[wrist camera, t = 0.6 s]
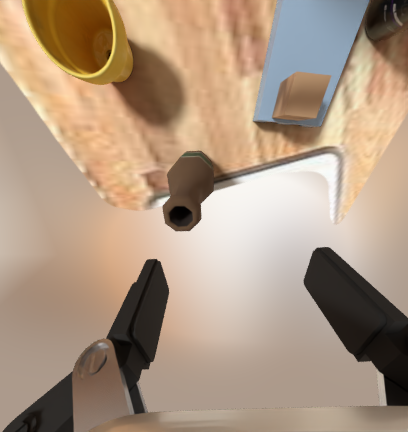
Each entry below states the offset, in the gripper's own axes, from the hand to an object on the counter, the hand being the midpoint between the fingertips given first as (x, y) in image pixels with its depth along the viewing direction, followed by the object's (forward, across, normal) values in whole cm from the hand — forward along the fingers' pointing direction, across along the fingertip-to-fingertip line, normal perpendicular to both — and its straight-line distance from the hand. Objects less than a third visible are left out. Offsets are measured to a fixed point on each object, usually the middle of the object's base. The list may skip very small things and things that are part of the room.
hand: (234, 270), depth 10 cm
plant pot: (+29, +16, -21) cm, 39 cm away
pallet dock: (+29, -16, -16) cm, 37 cm away
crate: (+26, -14, -11) cm, 32 cm away
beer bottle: (+29, +4, -1) cm, 29 cm away
